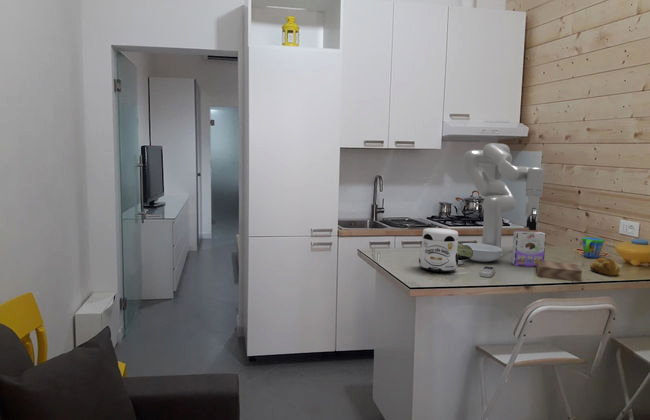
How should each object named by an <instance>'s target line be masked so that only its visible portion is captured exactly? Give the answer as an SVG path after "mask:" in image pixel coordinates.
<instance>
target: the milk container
mask: <svg viewBox="0 0 650 420" xmlns="http://www.w3.org/2000/svg"><path fill="white" fill-rule="evenodd" d="M422 230H423V231H422V240H421V250H420V253H419V256H418V263H419V266H420V267H421V268H422V269H423V270H426V271H429V272H435V273H451V272H454V271H456V270H457V268H458V265H459V256H458V255H459V254H458V246H459V241H458V240H459V232H458V231H457V230H454V229H450V228H442V227H441V228H440V227H426V228H423V229H422Z"/></svg>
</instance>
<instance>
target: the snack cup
mask: <svg viewBox="0 0 650 420" xmlns="http://www.w3.org/2000/svg"><path fill="white" fill-rule="evenodd" d="M581 240H582V248H583V249H582V250H583V251H582V252H583V256H584V257H586V258H590V259H591V258H592V259H598V258H600V257H601V252H602V249H603V245H604V243H605V239H603V238H600V237H599V238H598V237H591V236H585V237H584V236H583V237H582V238H581Z"/></svg>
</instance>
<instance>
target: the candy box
mask: <svg viewBox="0 0 650 420" xmlns="http://www.w3.org/2000/svg"><path fill="white" fill-rule="evenodd" d="M512 237H513V238H512V239H513V240H512V252H511V265H513V266H515V267H517V266H518V267H534V268H537V261H545V253H546V252H545V251H546V239H547V233H545V232H543V231H530V230H528V231H525V230H524V231H523V230H522V231H521V230H514V231H513V236H512Z"/></svg>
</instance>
